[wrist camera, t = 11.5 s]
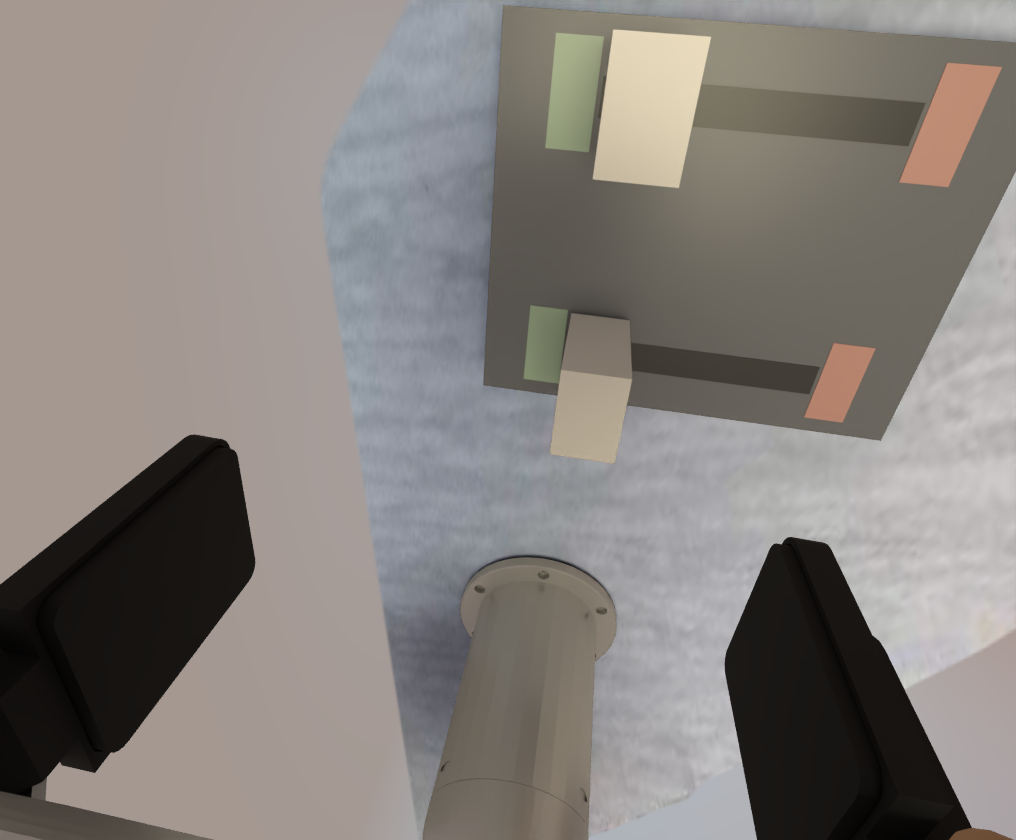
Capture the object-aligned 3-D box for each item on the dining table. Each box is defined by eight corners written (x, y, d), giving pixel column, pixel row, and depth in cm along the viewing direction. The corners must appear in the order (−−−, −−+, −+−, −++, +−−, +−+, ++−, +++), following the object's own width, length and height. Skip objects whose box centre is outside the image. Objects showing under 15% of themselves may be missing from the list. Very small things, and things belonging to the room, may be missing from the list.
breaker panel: (861, 412, 34) (881, 441, 31) (492, 362, 36) (483, 385, 34) (1030, 48, 24) (1078, 47, 22) (514, 10, 26) (503, 5, 24)
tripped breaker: (665, 160, 26) (678, 188, 20) (598, 154, 26) (592, 179, 20) (689, 42, 23) (711, 36, 18) (614, 36, 24) (613, 29, 18)
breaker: (615, 394, 32) (614, 463, 27) (561, 386, 32) (549, 454, 27) (629, 320, 30) (632, 379, 24) (571, 313, 30) (560, 369, 24)
